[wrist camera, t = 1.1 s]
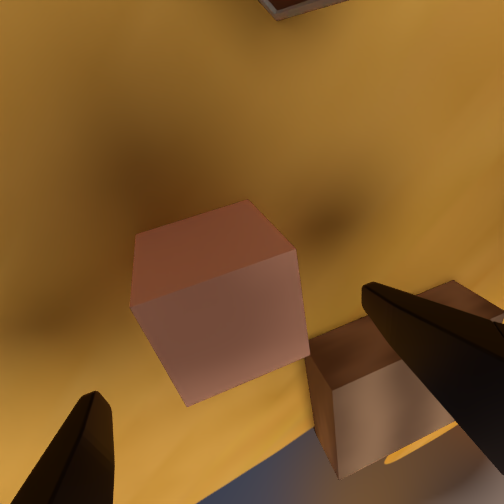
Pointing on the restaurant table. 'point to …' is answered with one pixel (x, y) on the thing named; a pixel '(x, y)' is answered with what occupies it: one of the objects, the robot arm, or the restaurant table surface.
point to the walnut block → (375, 388)
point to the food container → (294, 7)
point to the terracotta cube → (219, 299)
